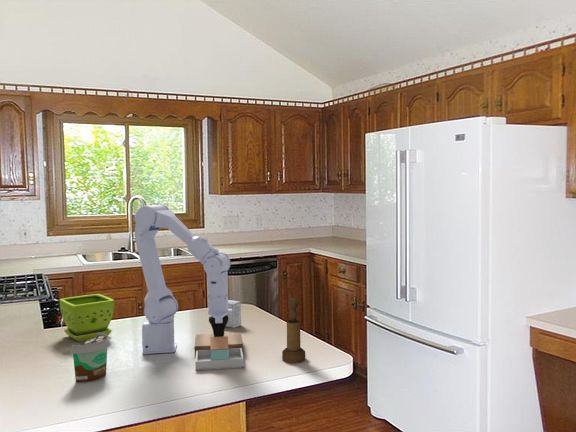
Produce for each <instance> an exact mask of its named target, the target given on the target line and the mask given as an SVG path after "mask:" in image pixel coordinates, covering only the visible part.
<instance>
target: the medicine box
mask: <svg viewBox="0 0 576 432" xmlns="http://www.w3.org/2000/svg"><path fill="white" fill-rule="evenodd" d="M228 309H232V313H228V314H227V315H228V322H227V324H226V327H227V328H233V329H235V328H238V327H240V326H242V303H241V301H237V300H232V299H231V300H230V299H228ZM226 327H225V328H226Z"/></svg>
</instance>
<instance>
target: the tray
mask: <svg viewBox="0 0 576 432" xmlns="http://www.w3.org/2000/svg"><path fill="white" fill-rule="evenodd" d="M228 349H229V359H220V360H211V349H210V350H196V358H194V359H195V360H194V361H195V364H194V365H195V366H194V368H195V371H197V372H198V371H212V370H213V371H214V370H227V369H229V370H230V369H242V368H243V369H244V368H245V365H244V364H245V359H244V351H243V352H242V348H228Z"/></svg>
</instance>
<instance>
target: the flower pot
mask: <svg viewBox="0 0 576 432" xmlns="http://www.w3.org/2000/svg"><path fill="white" fill-rule="evenodd" d="M59 308H60V313H61V316H62V319H63V323H64V325H65V326H66V328H64V329H63V332H65V334H66V335H68V337H70V338H72V339H73V340H74V341H76V342H78V343H82V342H84V341H86V340H89V339H92V338H94V337H96V336H97V333H104V334H106V335H107V336H108V337H109V335H111V333H112V331H113V329H111V328H109V326H110V323H111V321H112V318H113V315H114V310H115V300H114V299H113V298H111V297H108V296H105V295H103V294H100V293H95V294H94V293H93V294H86V295H79V296H77V295H76V296H72V297H71V296H70V297H65V298H60V299H59Z"/></svg>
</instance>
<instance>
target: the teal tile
mask: <svg viewBox="0 0 576 432" xmlns="http://www.w3.org/2000/svg"><path fill="white" fill-rule="evenodd" d="M220 359H229V349H228V350H211V360H220Z"/></svg>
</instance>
